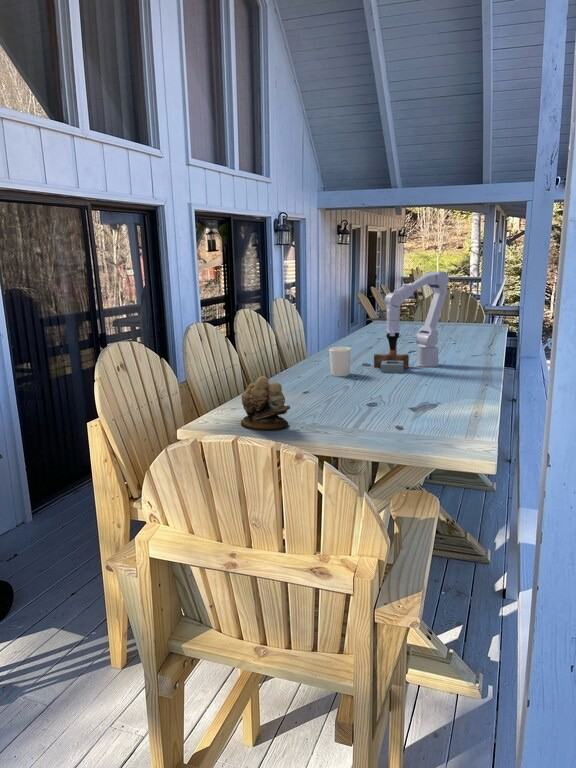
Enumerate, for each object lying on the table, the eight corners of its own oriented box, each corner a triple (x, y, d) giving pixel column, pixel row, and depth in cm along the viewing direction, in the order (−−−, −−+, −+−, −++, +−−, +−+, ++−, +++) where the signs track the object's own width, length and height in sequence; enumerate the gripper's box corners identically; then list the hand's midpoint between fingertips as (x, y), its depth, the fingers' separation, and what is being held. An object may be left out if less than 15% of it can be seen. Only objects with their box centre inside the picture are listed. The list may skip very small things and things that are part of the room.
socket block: (403, 368, 257) (403, 360, 256) (403, 373, 247) (403, 364, 246) (382, 368, 259) (382, 360, 258) (380, 373, 250) (380, 364, 249)
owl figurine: (297, 422, 184) (295, 373, 179) (282, 434, 173) (280, 382, 169) (250, 417, 191) (248, 369, 187) (233, 427, 181) (230, 377, 177)
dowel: (396, 355, 252) (397, 337, 250) (396, 356, 249) (396, 339, 247) (389, 354, 253) (389, 337, 251) (389, 356, 250) (389, 339, 248)
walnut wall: (408, 366, 259) (408, 354, 258) (408, 368, 256) (408, 355, 255) (374, 366, 263) (374, 354, 261) (373, 367, 260) (373, 355, 258)
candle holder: (343, 378, 242) (343, 351, 239) (325, 375, 248) (324, 349, 245) (355, 373, 249) (354, 347, 246) (336, 371, 255) (336, 346, 252)
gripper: (385, 317, 255) (384, 346, 258) (383, 322, 241) (383, 352, 245) (400, 317, 253) (400, 346, 257) (399, 321, 240) (399, 352, 243)
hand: (392, 349), depth 251 cm, fingers closed on dowel, 3 cm apart
